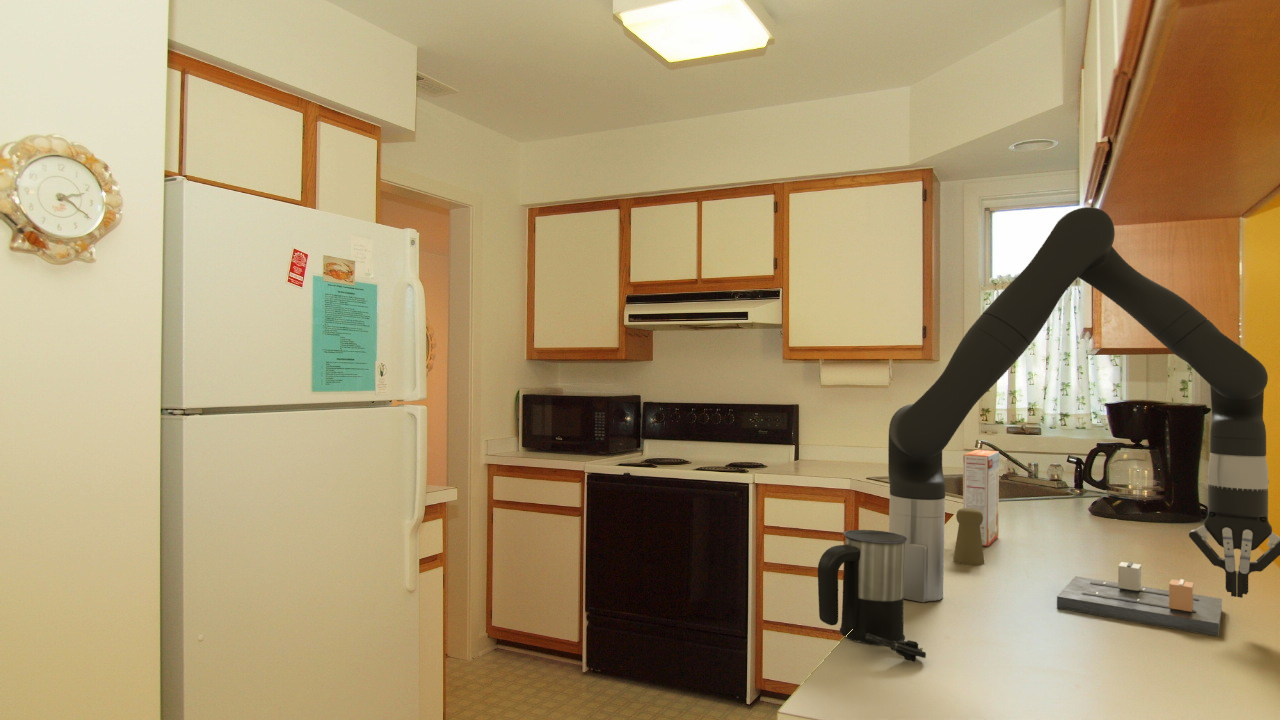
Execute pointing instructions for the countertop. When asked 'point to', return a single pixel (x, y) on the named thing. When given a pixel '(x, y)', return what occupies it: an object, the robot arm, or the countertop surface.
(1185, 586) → the fader orange
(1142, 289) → the robot arm
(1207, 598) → the console
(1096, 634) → the countertop surface
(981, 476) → the cracker box
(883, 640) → the milk frother
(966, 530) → the cork
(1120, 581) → the fader grey
